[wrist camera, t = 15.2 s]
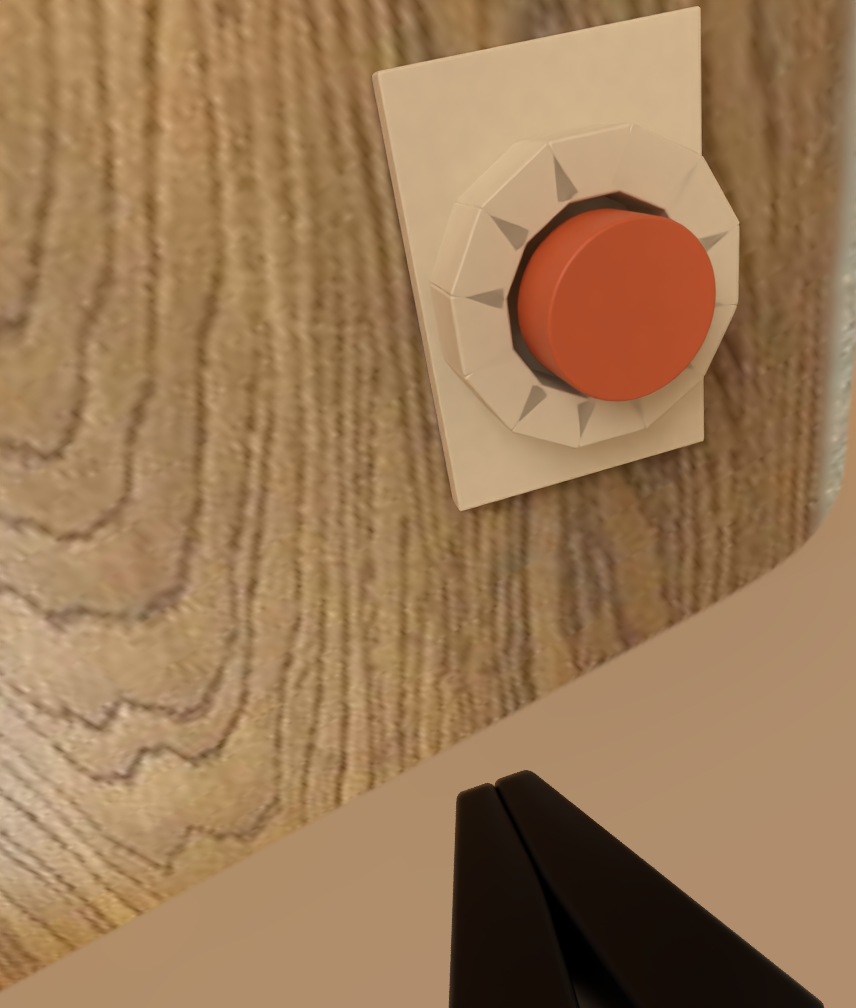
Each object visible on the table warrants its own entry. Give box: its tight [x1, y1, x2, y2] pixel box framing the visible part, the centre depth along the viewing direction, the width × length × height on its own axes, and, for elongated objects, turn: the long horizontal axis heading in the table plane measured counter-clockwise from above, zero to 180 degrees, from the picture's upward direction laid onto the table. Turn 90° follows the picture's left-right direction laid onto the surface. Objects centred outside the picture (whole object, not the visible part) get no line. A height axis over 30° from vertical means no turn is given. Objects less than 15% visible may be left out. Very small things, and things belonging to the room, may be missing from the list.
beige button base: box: [372, 6, 740, 511], centre depth 17 cm, size 10×7×2 cm
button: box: [517, 208, 716, 402], centre depth 15 cm, size 4×4×2 cm
